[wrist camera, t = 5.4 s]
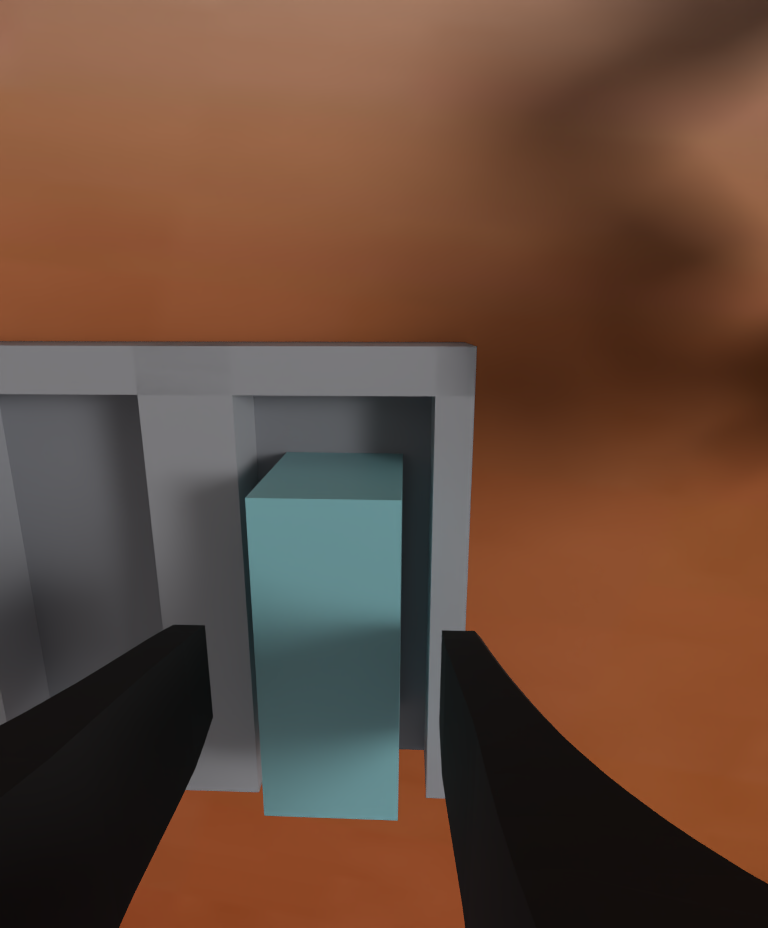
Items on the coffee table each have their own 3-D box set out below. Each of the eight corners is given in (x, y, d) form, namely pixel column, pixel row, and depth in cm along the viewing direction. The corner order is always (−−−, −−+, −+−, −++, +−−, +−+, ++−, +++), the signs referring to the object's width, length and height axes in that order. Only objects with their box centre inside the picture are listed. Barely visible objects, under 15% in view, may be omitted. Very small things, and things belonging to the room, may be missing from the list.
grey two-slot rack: (450, 729, 16) (458, 798, 14) (46, 718, 17) (-12, 783, 14) (464, 341, 13) (476, 346, 11) (-20, 341, 14) (-105, 345, 12)
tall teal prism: (399, 705, 15) (397, 820, 12) (297, 702, 15) (264, 815, 12) (402, 453, 13) (401, 500, 10) (287, 452, 13) (244, 498, 10)
